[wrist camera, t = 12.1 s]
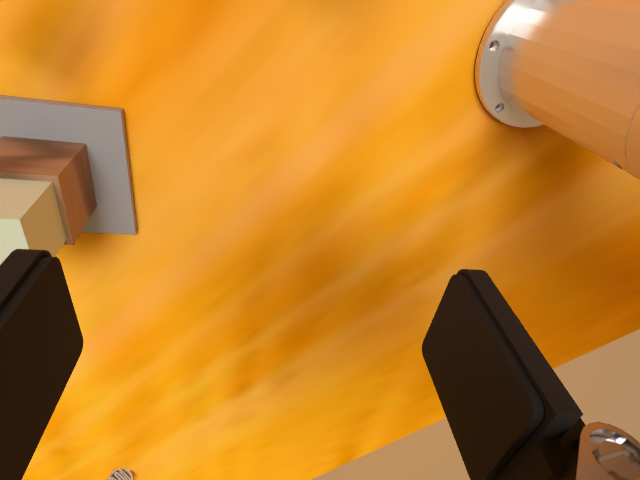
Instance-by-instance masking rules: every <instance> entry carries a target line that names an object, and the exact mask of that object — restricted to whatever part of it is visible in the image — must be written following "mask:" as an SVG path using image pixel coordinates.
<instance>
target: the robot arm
mask: <svg viewBox="0 0 640 480" xmlns="http://www.w3.org/2000/svg"><path fill="white" fill-rule="evenodd" d="M491 42H492V43H491ZM490 44H491V46H490V47H489V45H490ZM475 82H476V90H477V93H478V96H479V98H480V101H481V103H482V104H483V106H484V107H485V109H486V110H487V111H488V112H489V113H490V114H491V115H492V116H493V117H495V118H496V119H498V120H499V121H501V122H502V123H505V124H507V125H510V126H513V127H521V128H528V127H537V126H541V125H546V126H548V127H549V128H551V129H553V130H554V131H556V132H558V133H560V134H561V135H563V136H565V137H567V138H568V139H570V140H572V141H574V142H575V143H577V144H579V145H580V146H582V147H584V148H586V149H587V150H589V151H591V152H593V153H594V154H596V155H598V156H600V157H601V158H603V159H605V160H607V161H608V162H610V163H612V164H613V165H615V166H617V167H619V168H620V169H622V170H624V171H626V172H627V173H629V174H631V175H633V176H634V177H636V178H638V179H639V180H640V0H506V1H505V2H504V3H503V5H502V6H501V7H500V9H499V10H498V11H497V13H496V14H495V15H494V17H493V19H492V20H491V22H490V24H489V26H488V27H487V29H486V31H485V33H484V36H483V38H482V41H481V43H480V46H479V50H478V54H477V58H476V65H475ZM82 348H83V337H82V333H81V330H80V327H79V323H78V320H77V317H76V313H75V310H74V307H73V303H72V300H71V296H70V293H69V290H68V286H67V283H66V280H65V276H64V273H63V269H62V266H61V263H60V260H59V259H58V258H57V257H52V255H51V253H50V252H49V251H47V250H33V249H16V250H14V251H12V252H11V253H10V254H9V256H8V257H7V258H6V259H5V260H4V261H3V262H2V264H1V265H0V480H22V477H23V475H24V473H25V471H26V469H27V467H28V465H29V463H30V460H31V458H32V456H33V454H34V452H35V450H36V448H37V446H38V444H39V441H40V439H41V437H42V435H43V433H44V431H45V429H46V427H47V424H48V422H49V420H50V418H51V416H52V414H53V412H54V410H55V407H56V405H57V403H58V401H59V399H60V397H61V395H62V393H63V391H64V388H65V386H66V384H67V382H68V380H69V378H70V376H71V374H72V371H73V369H74V367H75V365H76V363H77V361H78V359H79V357H80V354H81V352H82ZM422 353H423V357H424V360H425V362H426V365H427V367H428V370H429V373H430V375H431V378H432V380H433V383H434V386H435V388H436V391H437V393H438V396H439V399H440V401H441V404H442V407H443V409H444V412H445V414H446V417H447V420H448V422H449V425H450V427H451V430H452V433H453V435H454V438H455V440H456V443H457V446H458V448H459V451H460V453H461V456H462V459H463V461H464V464H465V467H466V469H467V472H468V474H469V477H470V479H471V480H640V443H639V442H638V441H637V440H636V439H635V438H634V437H632V436H631V435H629V434H628V433H626V432H625V431H623V430H621V429H619V428H617V427H615V426H612V425H610V424H606V423H601V422H594V423H589V424H587V425H585V424H584V422H583V421H582V419H581V418H580V417H581V416H582V415H583V413H582V412H581V410H580V409H579V407H578V406H577V404H576V403H575V401H574V400H573V398H572V397H571V396H570V394H569V393H568V391H567V390H566V388H565V387H564V385H563V384H562V382H561V381H560V380H559V378H558V377H557V375H556V374H555V372H554V371H553V369H552V368H551V366H550V365H549V363H548V362H547V360H546V359H545V357H544V356H543V355H542V353H541V352H540V350H539V349H538V347H537V346H536V344H535V343H534V341H533V340H532V338H531V337H530V335H529V334H528V333H527V331H526V330H525V328H524V327H523V325H522V324H521V322H520V321H519V319H518V318H517V316H516V315H515V314H514V312H513V311H512V309H511V308H510V306H509V305H508V303H507V302H506V300H505V299H504V297H503V296H502V294H501V293H500V292H499V290H498V289H497V287H496V286H495V284H494V283H493V281H492V280H491V278H490V277H489V275H488V274H487V273H486V272H485V271H483V270H468V269H462V270H460V271H458V273H457V275H456V274H455V275H453V276H452V277H451V279H450V281H449V283H448V285H447V288H446V290H445V292H444V295H443V297H442V299H441V302H440V304H439V306H438V309H437V311H436V313H435V315H434V318H433V320H432V322H431V325H430V327H429V329H428V332H427V334H426V336H425V339H424V341H423V344H422Z"/></svg>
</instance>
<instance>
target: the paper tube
mask: <svg viewBox="0 0 640 480" xmlns="http://www.w3.org/2000/svg"><path fill="white" fill-rule="evenodd" d="M132 479H133V477H132V473H131V472H130V471H129V470H127V469H125V471H124V472H123V471H122V470H121V469H116V470H114V471H113V472H112V473H111V475H110V476H109V478H108V480H132Z"/></svg>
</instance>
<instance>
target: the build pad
mask: <svg viewBox="0 0 640 480" xmlns="http://www.w3.org/2000/svg"><path fill="white" fill-rule="evenodd" d="M2 136H8V137H19V138H30V139H41V140H52V141H63V142H75V143H86V147H87V153H88V159H89V164H90V170H91V175H92V181H93V187H94V192H95V198H96V203H97V207H96V208H95V210H94V212H93V213H92V215H91V217H90V218H89V220H88V222H87V223H86V225H85V227H84V228H83V230H82V232H89V233H110V234H131V235H136V232H137V222H136V214H135V205H134V197H133V188H132V179H131V171H130V162H129V154H128V145H127V137H126V128H125V119H124V111H123V108H113V107H104V106H95V105H86V104H77V103H68V102H59V101H50V100H40V99H31V98H22V97H13V96H4V95H0V138H1V137H2Z"/></svg>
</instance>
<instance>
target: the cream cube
mask: <svg viewBox="0 0 640 480" xmlns="http://www.w3.org/2000/svg"><path fill="white" fill-rule="evenodd" d="M66 239H67V238H66V235H65V231H64V227H63V223H62V219H61V215H60V211H59V207H58V203H57V199H56V195H55V191H54V187H53V183H52V182H48V181H32V180H17V179H2V178H0V265H1V264H2V262H3V261H4V260H5V259H6V258H7V257H8V256H9V254H10V253H11V252H12V251H14V250H16V249H33V250H47V251H49V252H50V253H51V255H52V257H56V255H57V254H58V252H59V250H60V249H61V247H62V246H63V244H64V243H65V241H66Z"/></svg>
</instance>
